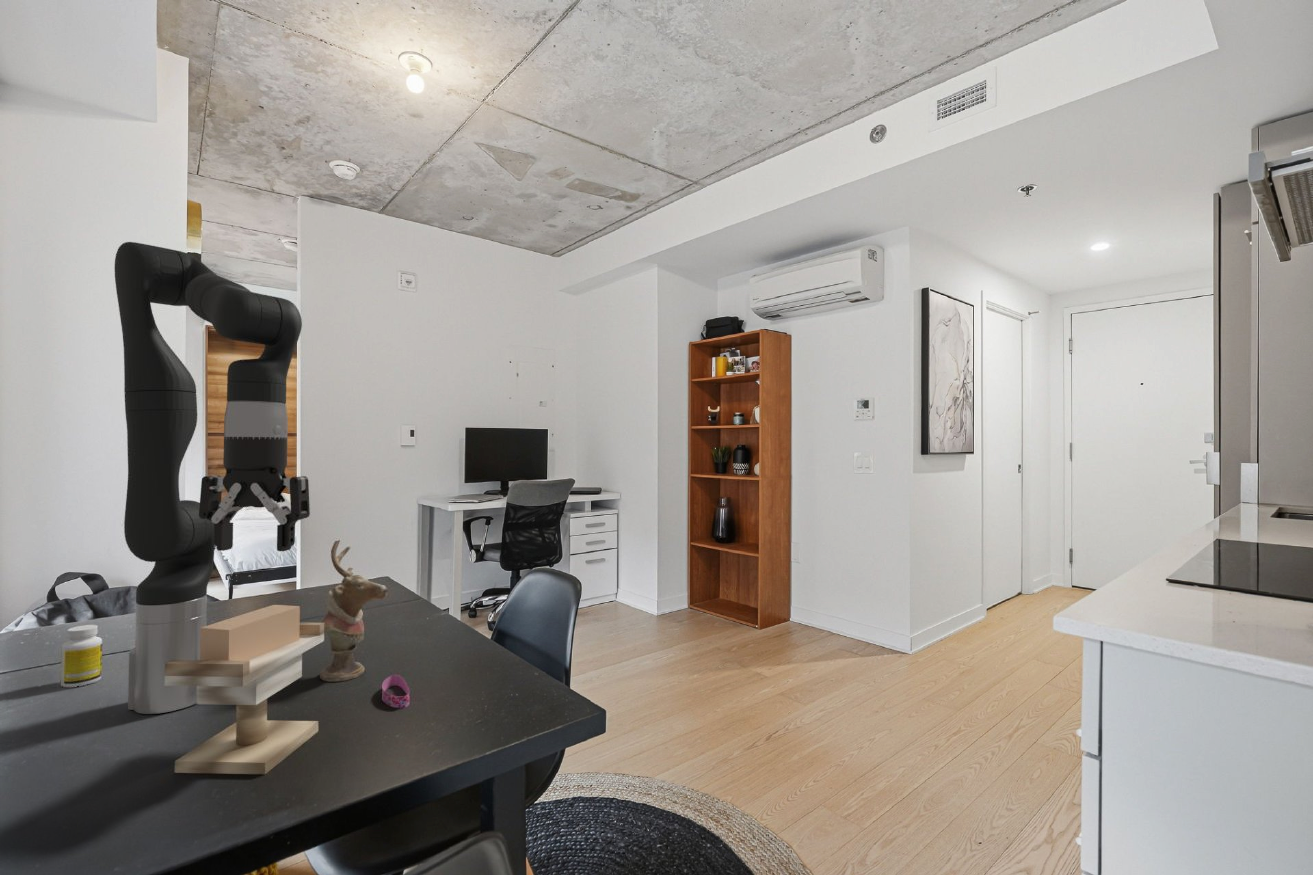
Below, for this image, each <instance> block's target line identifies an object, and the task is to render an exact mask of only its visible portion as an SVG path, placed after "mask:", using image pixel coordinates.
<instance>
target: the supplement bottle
mask: <svg viewBox="0 0 1313 875" xmlns="http://www.w3.org/2000/svg"><path fill="white" fill-rule="evenodd" d="M98 632H99V631H98V625H96V624H85V625H78V626H74V627H70V628H68V629H67V631H66V633H67V635H66V638H67V639H68V640H67V641H65V642H64V643H62V645H61V650H60V651H61V653H60V654H61V655H60V686H61V687H62V686H63V687H62V688H78V687H77V686H79V687H83V685H84V686H87V684H88V685H91V684H94V683H97V682H99V681H100V680H101V679H102V677H103V676H102V674H103V673H102V672H103V670H102V669H103V639H102V638H101V637H99V636H97V634H98Z"/></svg>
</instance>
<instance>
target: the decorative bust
mask: <svg viewBox="0 0 1313 875" xmlns="http://www.w3.org/2000/svg"><path fill="white" fill-rule="evenodd" d="M340 542H341V540H340V539H339V540H335V541H334V542H333V545H332V546H331V550H330V557H331V558H330V559H331V563H332V565H333V567H334V569H335V570H336V572H337V573H338V575H339V574H340V575H341V576H342V577H343V579H342V580H341V584H338V585H337V586H334V587H333V588H331V589H329V591H328V592H327V595H326V598H325V599H324V605H325V606H326V609H327V613H326V614H325V617H324V618H323V620H322V621H321V622H320V623H324V634H325V635H327V636H328V637H329V640H330V650H329V651H330V653H331V654H334V656H333V660H332V662H331V663H330V664H329V665H327V666H325V667H324V668H322V669H321V671H319V678H320V679H321V680H322V681H324V682H344V681H350V680H353V679H356V678H358V677H360V676H361V675H363V674H364V673H365V669H366V668H365V666H363V664H362V663H360V662H358V661H357V662H356V661H355V659H354V658H355V657H354V651H356V649H357V644H359V643H360V642H362V641H363V640H364V638H365V625H364V620H363V616H364V612H363V610H362V608H363V607H364V605H366V604H367V603H370V602H372V601H375V600H384V599H385V598H386V596H387V595H388V591H389V589H388V588H387V586H386V585H383V584H379V583H377V582H373V581H370V580H369V579H368V578H366V577H365V578H364V577H363V576H361V575H360V574H357V575H356V574H355V575H354V573H353V572H352V571H353V569H354V568H353V567H349V568H347V570H346V569H345V568H344V567H342V566H341V562H342V560H343V558H344V557H345V555H346V554H347V553H348V552H349V551H350V549H351V547H350V546H346V547H345V548H344V549H343V550H342V551H341V552H340V553H339V554H338V555H337V550H338V547H339V544H340Z"/></svg>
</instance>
